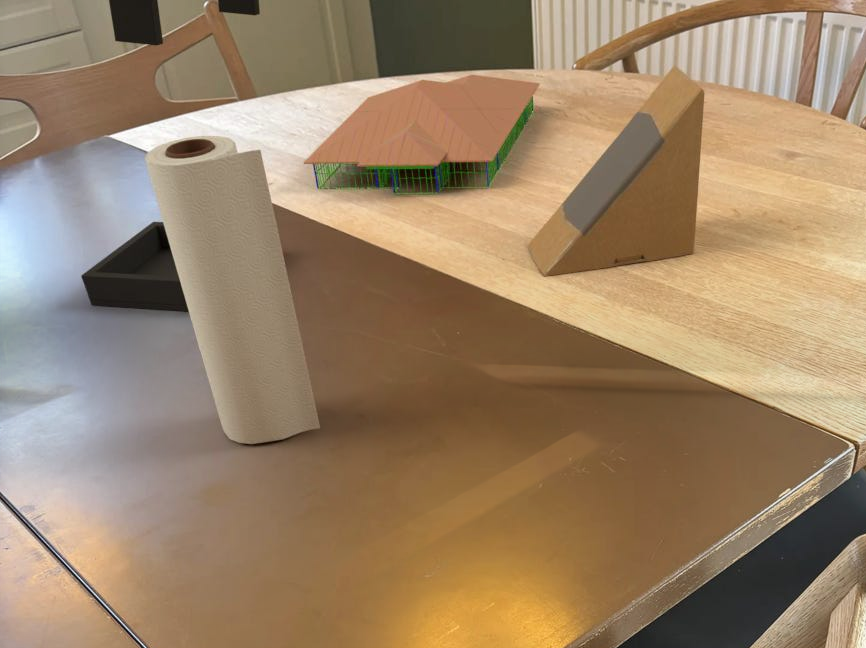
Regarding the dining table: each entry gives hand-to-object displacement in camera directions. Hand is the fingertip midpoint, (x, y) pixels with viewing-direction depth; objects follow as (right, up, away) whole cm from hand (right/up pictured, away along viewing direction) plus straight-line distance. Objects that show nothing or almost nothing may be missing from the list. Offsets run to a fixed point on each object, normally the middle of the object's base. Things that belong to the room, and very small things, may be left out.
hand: (193, 27), depth 65 cm
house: (+12, +23, +64) cm, 69 cm away
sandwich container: (+31, 0, +37) cm, 49 cm away
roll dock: (-12, -2, +40) cm, 42 cm away
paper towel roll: (+1, -23, +17) cm, 28 cm away
